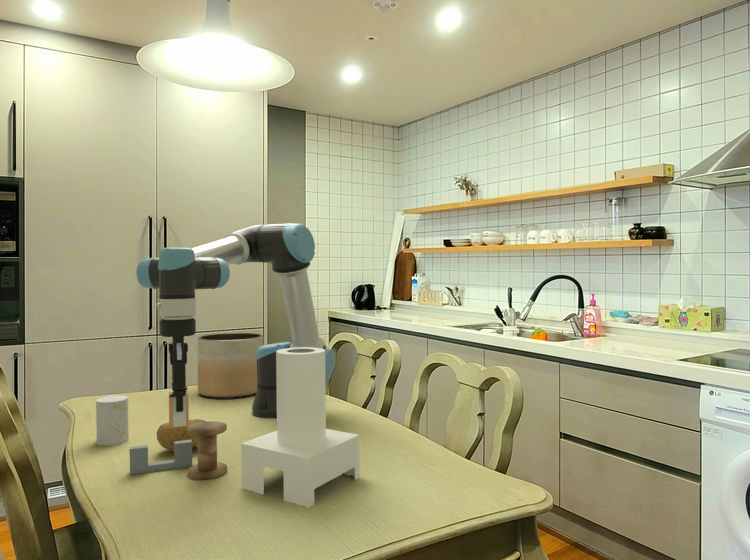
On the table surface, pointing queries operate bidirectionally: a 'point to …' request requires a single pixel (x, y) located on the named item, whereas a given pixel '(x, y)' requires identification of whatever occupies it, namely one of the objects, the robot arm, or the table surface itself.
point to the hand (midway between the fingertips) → (179, 422)
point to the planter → (228, 364)
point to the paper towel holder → (300, 432)
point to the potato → (175, 435)
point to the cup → (112, 420)
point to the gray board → (180, 460)
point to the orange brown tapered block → (172, 410)
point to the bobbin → (207, 450)
